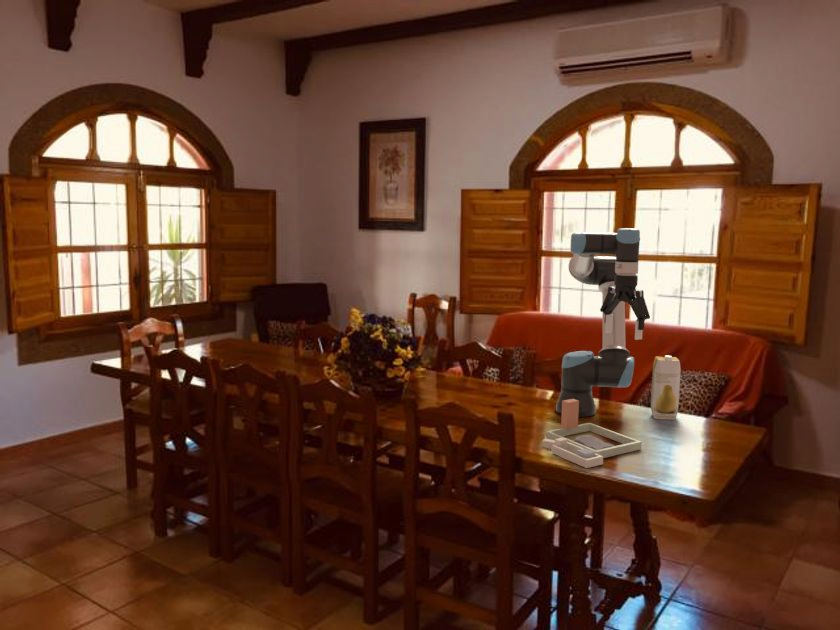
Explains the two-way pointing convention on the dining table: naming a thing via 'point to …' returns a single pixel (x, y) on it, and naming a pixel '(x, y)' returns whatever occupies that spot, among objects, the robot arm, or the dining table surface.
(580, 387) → the robot arm
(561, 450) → the tray
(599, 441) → the stone block
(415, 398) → the dining table surface
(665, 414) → the juice carton
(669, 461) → the dining table surface
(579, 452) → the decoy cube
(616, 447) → the shallow white tray
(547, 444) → the snapped post
